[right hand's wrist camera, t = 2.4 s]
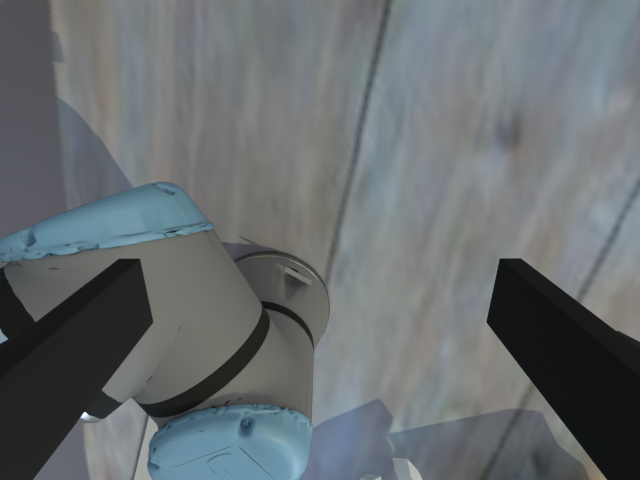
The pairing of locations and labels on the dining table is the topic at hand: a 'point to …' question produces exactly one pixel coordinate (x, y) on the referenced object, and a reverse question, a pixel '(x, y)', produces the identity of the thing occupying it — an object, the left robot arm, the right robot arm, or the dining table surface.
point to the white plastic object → (399, 471)
